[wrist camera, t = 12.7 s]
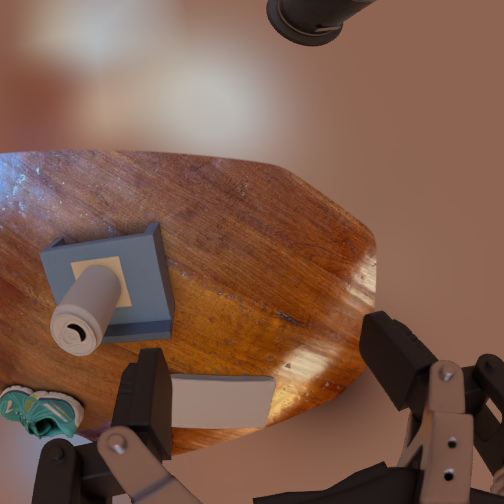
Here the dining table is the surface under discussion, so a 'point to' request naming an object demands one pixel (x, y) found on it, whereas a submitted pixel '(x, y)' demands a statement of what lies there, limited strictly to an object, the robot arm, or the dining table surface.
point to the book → (221, 401)
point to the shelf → (120, 281)
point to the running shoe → (42, 411)
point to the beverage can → (86, 311)
